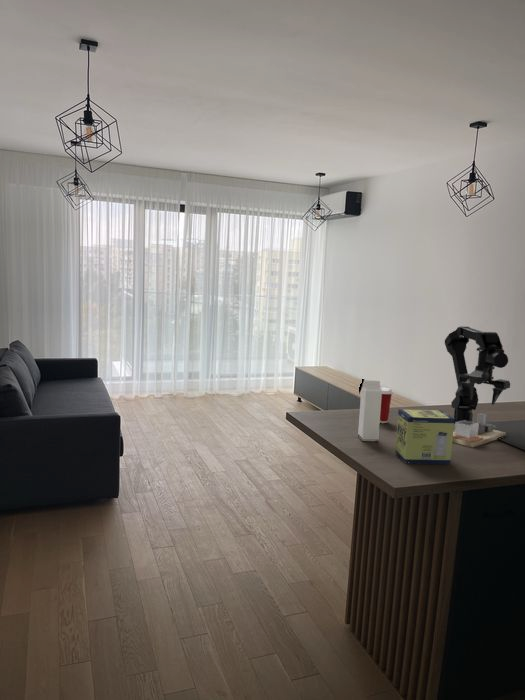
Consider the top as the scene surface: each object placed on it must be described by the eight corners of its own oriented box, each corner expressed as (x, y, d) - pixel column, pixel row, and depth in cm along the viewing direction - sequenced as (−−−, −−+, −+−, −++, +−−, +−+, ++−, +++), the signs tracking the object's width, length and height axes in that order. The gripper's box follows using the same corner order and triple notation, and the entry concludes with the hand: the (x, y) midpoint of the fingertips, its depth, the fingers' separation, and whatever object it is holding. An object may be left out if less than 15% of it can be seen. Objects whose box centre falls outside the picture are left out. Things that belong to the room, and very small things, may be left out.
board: (440, 438, 201) (440, 433, 201) (474, 428, 218) (474, 423, 218) (472, 447, 192) (473, 441, 191) (505, 436, 209) (506, 431, 208)
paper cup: (390, 420, 224) (393, 388, 222) (389, 425, 217) (391, 391, 215) (372, 418, 227) (374, 386, 225) (369, 422, 220) (372, 389, 218)
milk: (357, 437, 199) (361, 378, 196) (373, 437, 199) (377, 379, 196) (362, 442, 193) (366, 382, 190) (378, 442, 193) (382, 382, 190)
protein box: (394, 453, 181) (397, 408, 179) (438, 454, 182) (442, 410, 180) (404, 464, 171) (408, 416, 169) (451, 464, 172) (455, 418, 170)
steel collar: (454, 435, 199) (455, 422, 198) (462, 432, 203) (463, 420, 202) (469, 439, 195) (470, 426, 194) (477, 436, 199) (478, 423, 198)
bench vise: (467, 432, 206) (469, 414, 205) (484, 427, 215) (486, 410, 214) (479, 435, 203) (480, 417, 202) (495, 430, 212) (497, 412, 211)
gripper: (453, 361, 212) (449, 400, 214) (499, 368, 198) (495, 409, 200) (467, 359, 219) (463, 396, 221) (512, 366, 205) (508, 406, 207)
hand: (481, 402), depth 212 cm, fingers open, 9 cm apart
